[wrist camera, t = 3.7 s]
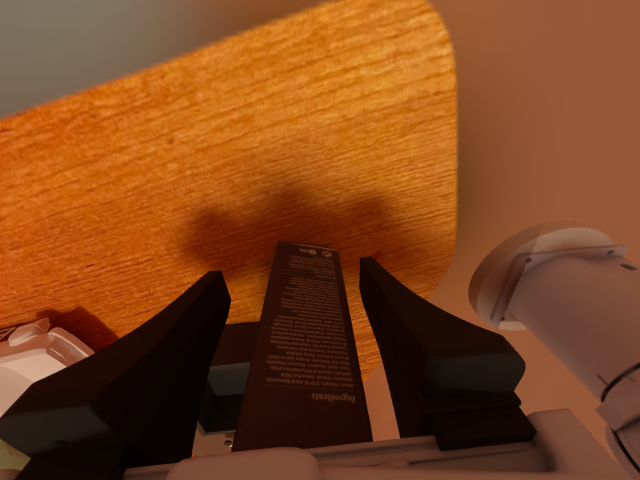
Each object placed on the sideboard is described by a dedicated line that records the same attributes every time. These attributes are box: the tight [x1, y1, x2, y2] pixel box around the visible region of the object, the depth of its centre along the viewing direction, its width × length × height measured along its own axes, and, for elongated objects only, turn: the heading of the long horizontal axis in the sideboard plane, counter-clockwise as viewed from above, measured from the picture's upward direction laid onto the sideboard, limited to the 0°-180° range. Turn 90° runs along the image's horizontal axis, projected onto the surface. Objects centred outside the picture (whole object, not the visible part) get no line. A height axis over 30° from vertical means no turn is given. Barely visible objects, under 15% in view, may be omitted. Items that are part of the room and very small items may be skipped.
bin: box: [197, 322, 260, 436], centre depth 20 cm, size 10×10×4 cm
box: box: [231, 241, 373, 452], centre depth 12 cm, size 6×4×12 cm
